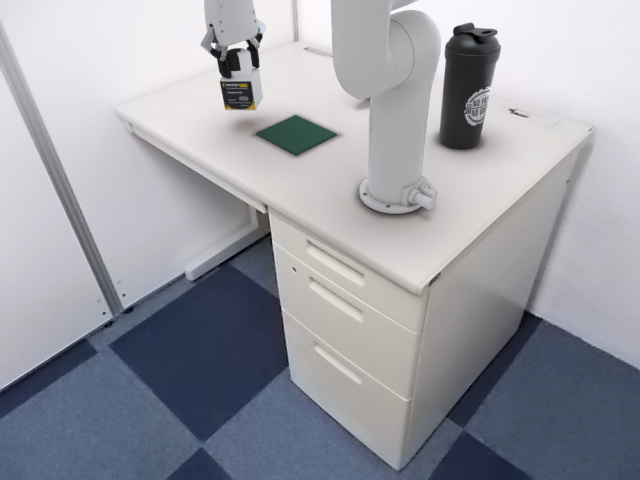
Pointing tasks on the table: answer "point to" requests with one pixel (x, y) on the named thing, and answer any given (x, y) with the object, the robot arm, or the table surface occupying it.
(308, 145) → the cutting mat
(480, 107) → the water bottle
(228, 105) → the medicine bottle
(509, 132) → the table surface
